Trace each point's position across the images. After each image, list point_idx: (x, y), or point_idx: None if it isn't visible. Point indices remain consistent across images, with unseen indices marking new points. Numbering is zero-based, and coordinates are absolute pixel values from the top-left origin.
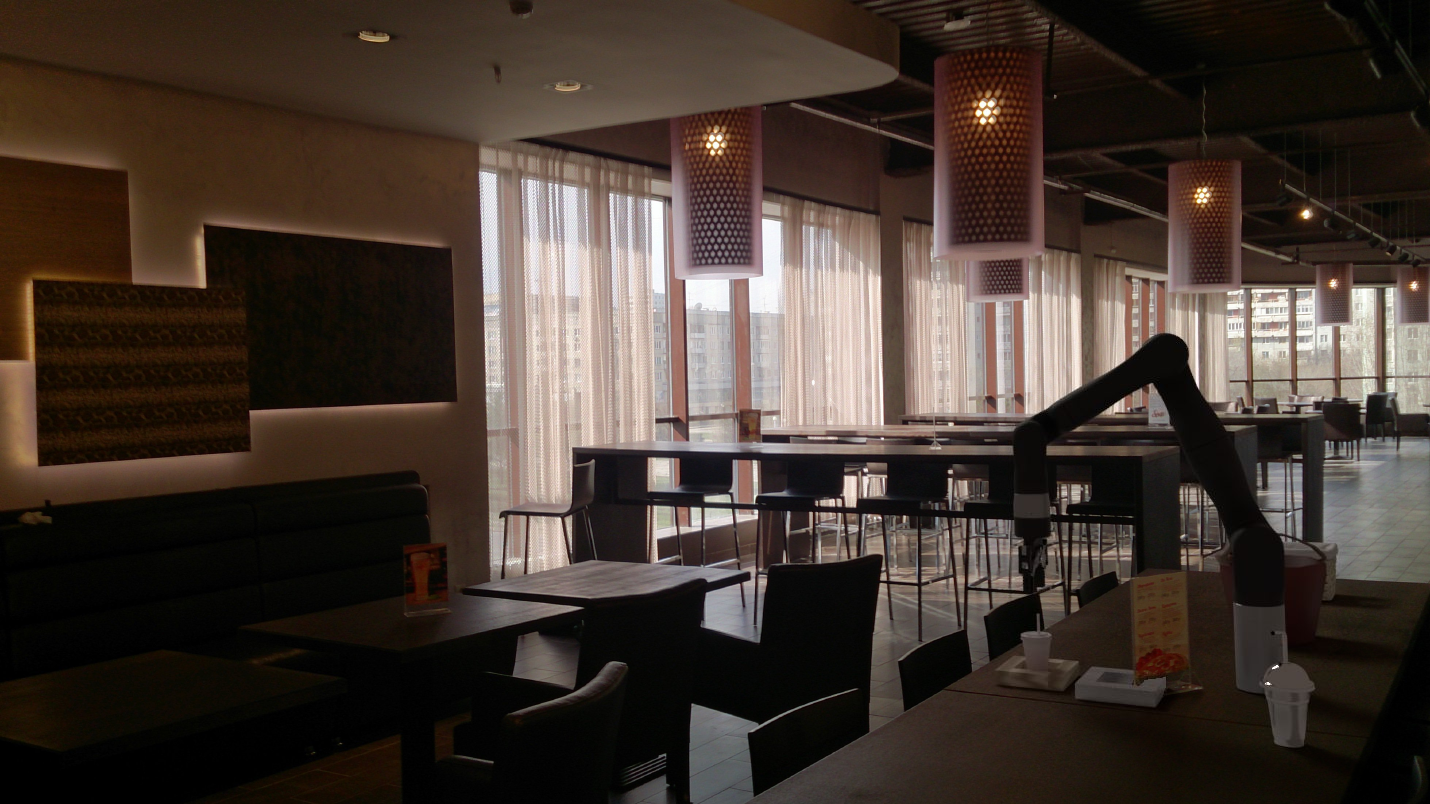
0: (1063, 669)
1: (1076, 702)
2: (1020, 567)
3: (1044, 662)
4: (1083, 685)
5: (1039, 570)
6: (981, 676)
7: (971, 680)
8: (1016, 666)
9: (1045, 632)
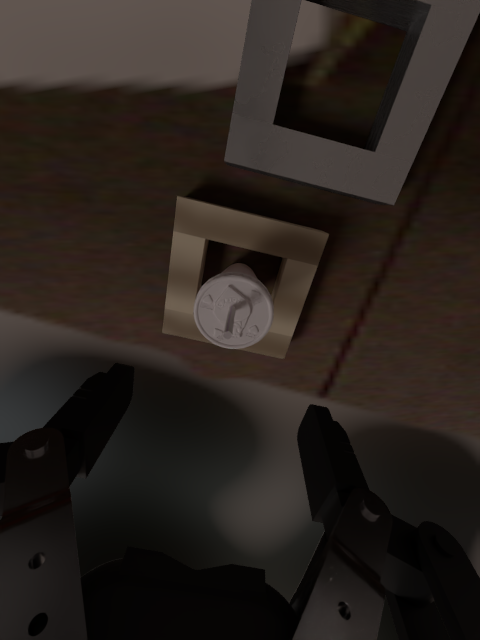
0: (263, 232)
1: (405, 201)
2: (440, 623)
3: (255, 276)
4: (402, 184)
5: (84, 452)
6: (232, 366)
7: (260, 378)
8: None
9: (204, 292)
